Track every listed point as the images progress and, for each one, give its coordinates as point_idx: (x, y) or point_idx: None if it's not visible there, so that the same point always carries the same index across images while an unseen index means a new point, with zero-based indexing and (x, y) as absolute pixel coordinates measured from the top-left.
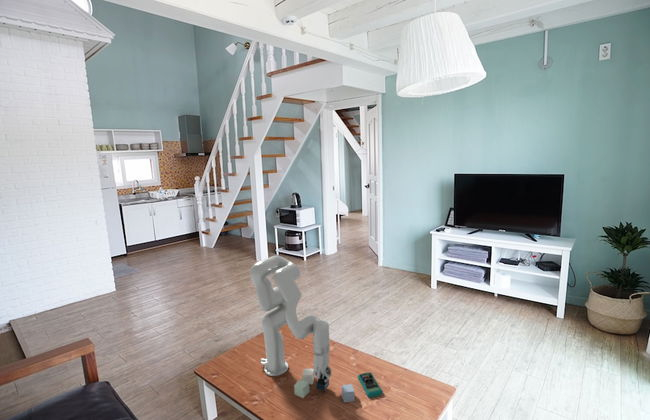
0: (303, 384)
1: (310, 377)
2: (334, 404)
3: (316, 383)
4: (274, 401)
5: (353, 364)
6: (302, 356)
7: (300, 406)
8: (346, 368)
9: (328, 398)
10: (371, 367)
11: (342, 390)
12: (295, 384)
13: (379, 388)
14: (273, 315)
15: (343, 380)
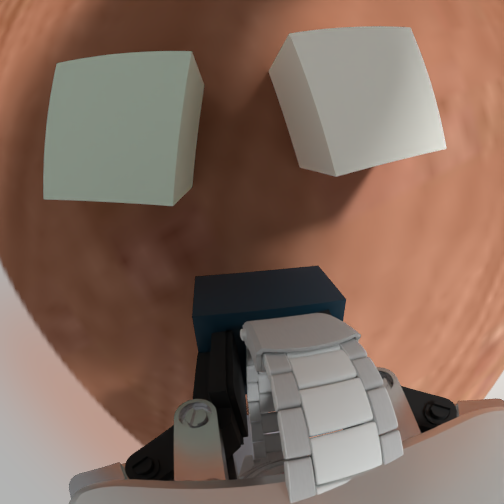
0: (104, 160)
1: (316, 150)
2: (166, 402)
3: (193, 318)
4: (19, 26)
5: (497, 331)
6: (500, 16)
7: (29, 215)
8: (480, 319)
9: (192, 361)
10: (468, 397)
11: (238, 464)
12: (72, 67)
13: None
14: None
15: (392, 361)
